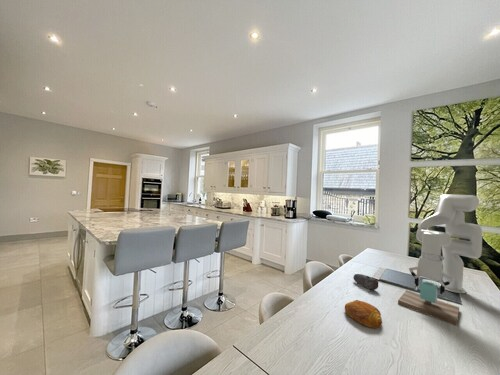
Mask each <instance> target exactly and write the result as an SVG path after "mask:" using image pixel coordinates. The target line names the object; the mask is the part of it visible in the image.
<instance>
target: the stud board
mask: <svg viewBox="0 0 500 375" xmlns="http://www.w3.org/2000/svg"><path fill="white" fill-rule="evenodd" d="M397 300H398V301H397V304H398V305H401V306H404V307H406V308H407V309H408V308H409V309H411V310H414V311H417V312H419V313H422V314H424V315H427V316H430V317H433V318H435V319H438V320H441V321H443V322H446V323H448V324H452V325H454V326H457V324H458V318H459V313H460V306H456V305H453V304H451V303H448V302H444V301H442V300H438V299H437V300H436V303H433V302H430V301H427V300H424V299H421V298H420V293H418V292H417V293H416V292H413V291H410V290H407V289H406V290H405V291H404V292H403V294H402V295H400V297H399V299H397Z"/></svg>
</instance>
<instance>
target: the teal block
mask: <svg viewBox="0 0 500 375" xmlns="http://www.w3.org/2000/svg"><path fill="white" fill-rule="evenodd" d="M438 287H439V286H438V283H435V282H432V281H429V280H424V279H422V280H421V281H420V291H419V294H420V298H421V299H424V300H427V301H430V302H433V303H436V300H438Z"/></svg>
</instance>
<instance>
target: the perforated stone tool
mask: <svg viewBox="0 0 500 375" xmlns="http://www.w3.org/2000/svg"><path fill="white" fill-rule="evenodd" d="M353 281H354V282H355V283H356V284H358V285H360V286H361V287H364V288H365V289H369V290H371V291H373V290H377V289H378V288H379V281H378V279H376V278H374V277H371V276H369V275H365V274H361V273H355V274H354V275H353Z"/></svg>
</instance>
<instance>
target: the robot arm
mask: <svg viewBox="0 0 500 375" xmlns="http://www.w3.org/2000/svg"><path fill="white" fill-rule="evenodd" d="M479 205H480V200H479V198H478V196H476V195H473V194H450V193H449V194H448V193H447V194H446V193H445V194H441V195H440V196H439V197H438V201H437V204H436V206H435V209H434V213H433V214H432V215H430V216H428V217H426V218H424V219H423V220H422V221H421V222H420V224H419V225H418V228H417V230H416V235H415V238H416V240H417V241H419V242H420V243H421V252H420V253H421V255H420V256H419V258H418V262H417V266H414V267H412V266H411V267H409V268H408V270H409V272H410V275H411V276H412V277H413V278H414V285H415V287H417V288H418V287H419V283H420V277H422V278H424V279H428V280H432V281H435V282H438V283H440V284H441V286H440V287H439V294H440V295H443V294H444V293H445V290H446V291H449V292H452V293H455V294H466V293H467V290H466V289H465V288H463V286H464V285H463V281H464V280H463V279H464V265H465V263H464V261H463V259H462V257H466V258H471V259H479V258H481V256H482V252H483V229H482V227H481V226H480V225H479V224H475V223H471V222H470V223H469V222H465V219H466V218H465V216H466V215H465V212H466V213H467V212H469V213H470V212H473V211H475V210H477V209H478V208H479ZM441 225H445V228H444V230H445V232H443V231H439V230H438V231H437V230H432V229H429V228H431V227H435V226H441ZM452 237H453V238H452ZM454 237H455V238H454ZM459 238H460V239H459ZM465 239H466V240H465ZM468 240H469V241H468ZM441 252H442V255H441ZM461 256H462V257H461ZM415 270H416V273H415V272H414V271H415Z"/></svg>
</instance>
